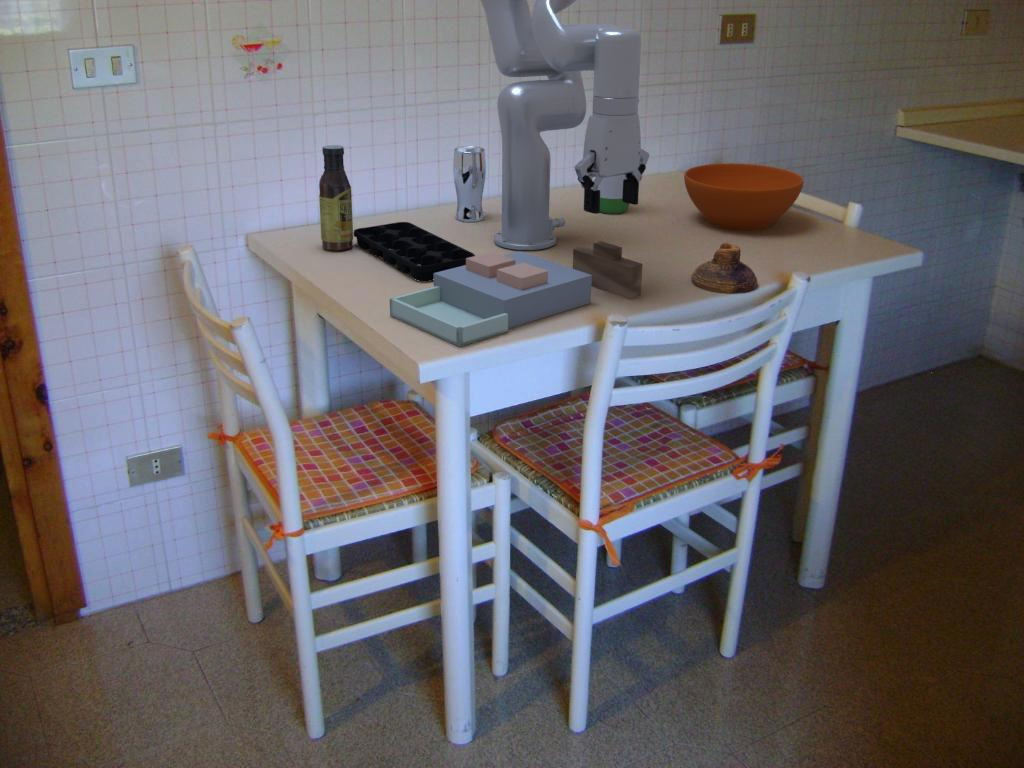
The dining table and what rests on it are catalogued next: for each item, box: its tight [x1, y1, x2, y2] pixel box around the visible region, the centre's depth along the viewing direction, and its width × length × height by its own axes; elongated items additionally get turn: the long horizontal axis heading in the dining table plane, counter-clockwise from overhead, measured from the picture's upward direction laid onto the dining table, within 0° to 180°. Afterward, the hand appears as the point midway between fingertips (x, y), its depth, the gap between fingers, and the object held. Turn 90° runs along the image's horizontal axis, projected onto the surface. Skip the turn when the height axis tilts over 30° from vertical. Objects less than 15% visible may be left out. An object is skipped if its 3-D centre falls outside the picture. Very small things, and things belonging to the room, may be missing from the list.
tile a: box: [466, 251, 515, 278], centre depth 182 cm, size 6×6×2 cm
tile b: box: [497, 263, 548, 290], centre depth 177 cm, size 6×6×2 cm
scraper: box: [572, 240, 643, 300], centre depth 189 cm, size 3×14×8 cm, turn 42°
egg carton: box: [353, 221, 476, 282], centre depth 204 cm, size 18×30×4 cm, turn 45°
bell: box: [691, 242, 758, 294], centre depth 192 cm, size 12×12×7 cm
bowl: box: [683, 162, 805, 231], centre depth 230 cm, size 25×25×10 cm
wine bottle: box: [597, 174, 630, 215], centre depth 233 cm, size 8×8×30 cm
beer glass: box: [452, 145, 487, 223], centre depth 228 cm, size 7×7×15 cm
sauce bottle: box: [318, 144, 354, 252], centre depth 207 cm, size 6×6×20 cm
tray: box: [389, 286, 509, 348], centre depth 172 cm, size 10×18×3 cm, turn 42°
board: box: [433, 250, 592, 330], centre depth 182 cm, size 20×18×5 cm
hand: (611, 207), depth 184 cm, fingers open, 9 cm apart
